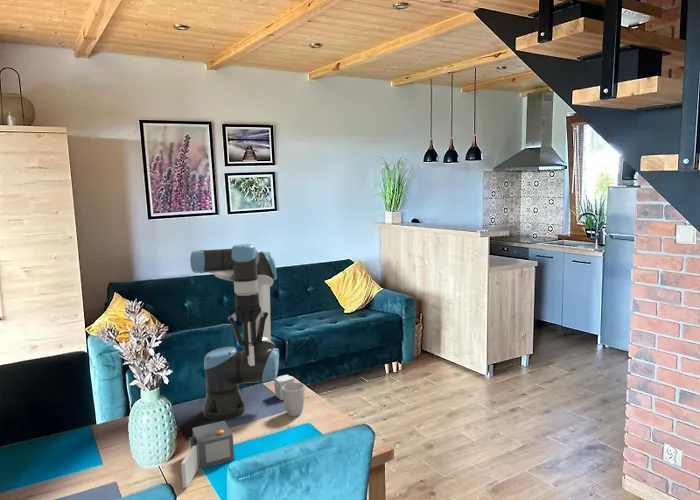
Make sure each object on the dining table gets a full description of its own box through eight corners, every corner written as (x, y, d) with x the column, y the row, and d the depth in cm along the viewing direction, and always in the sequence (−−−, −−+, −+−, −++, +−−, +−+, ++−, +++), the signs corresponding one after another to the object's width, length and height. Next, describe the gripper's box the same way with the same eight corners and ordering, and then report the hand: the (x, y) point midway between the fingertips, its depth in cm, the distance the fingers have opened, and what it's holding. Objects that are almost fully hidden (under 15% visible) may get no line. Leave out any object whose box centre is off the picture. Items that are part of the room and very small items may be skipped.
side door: (200, 467, 152) (198, 443, 151) (188, 487, 141) (185, 462, 140) (192, 467, 152) (190, 443, 151) (179, 488, 141) (177, 463, 140)
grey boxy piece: (189, 453, 161) (187, 426, 160) (226, 444, 166) (224, 418, 165) (195, 470, 151) (193, 441, 150) (234, 459, 156) (232, 432, 155)
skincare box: (295, 396, 202) (294, 378, 201) (280, 400, 199) (279, 382, 198) (288, 391, 207) (287, 374, 207) (274, 395, 204) (273, 377, 204)
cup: (309, 409, 190) (308, 383, 188) (300, 419, 182) (298, 391, 181) (289, 407, 192) (287, 381, 191) (279, 416, 185) (277, 389, 184)
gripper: (263, 288, 171) (267, 357, 174) (223, 293, 166) (228, 365, 169) (269, 292, 165) (274, 364, 167) (228, 297, 159) (234, 371, 162)
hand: (251, 364), depth 168 cm, fingers closed
